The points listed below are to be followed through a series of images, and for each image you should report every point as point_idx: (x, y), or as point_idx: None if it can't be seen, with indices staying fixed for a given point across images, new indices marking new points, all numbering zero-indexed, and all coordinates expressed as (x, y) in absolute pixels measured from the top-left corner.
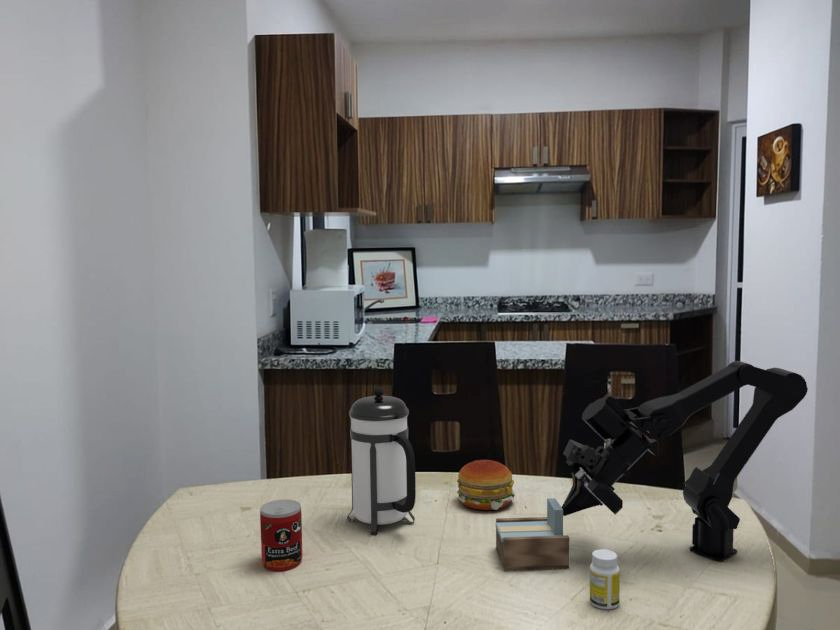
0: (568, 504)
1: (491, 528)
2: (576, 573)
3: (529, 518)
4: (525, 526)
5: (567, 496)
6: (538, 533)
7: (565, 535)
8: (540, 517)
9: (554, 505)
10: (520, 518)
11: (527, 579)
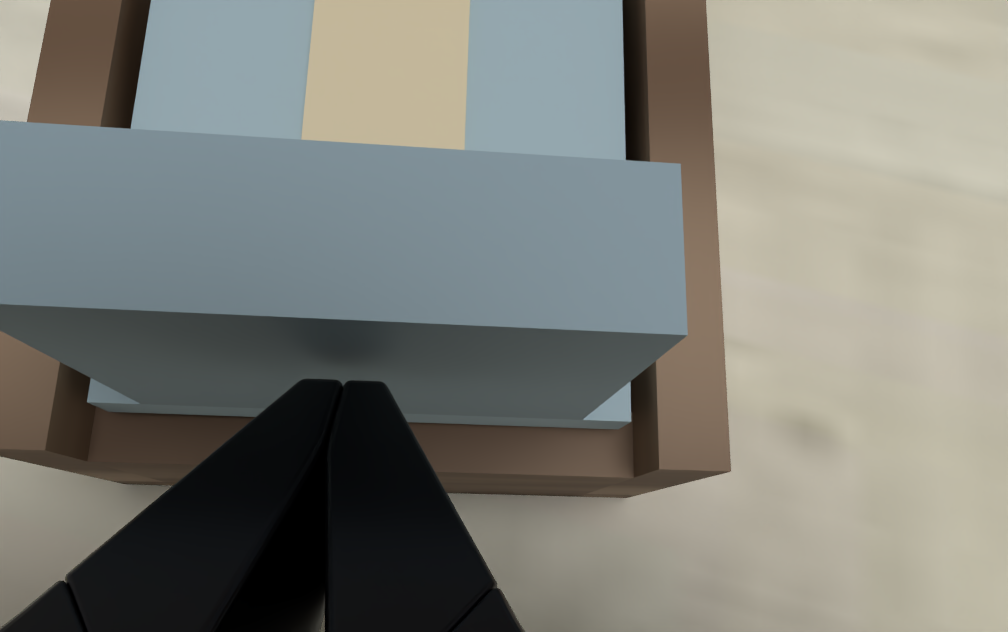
0: (157, 500)
1: (989, 48)
2: (25, 528)
3: (678, 112)
4: (450, 14)
5: (456, 561)
6: (243, 113)
7: (51, 413)
8: (710, 253)
9: (255, 193)
10: (685, 16)
11: (23, 90)
